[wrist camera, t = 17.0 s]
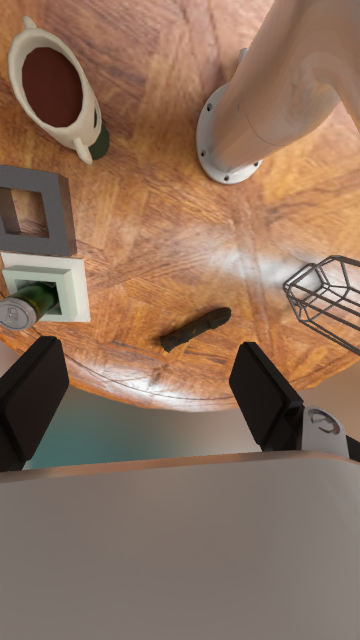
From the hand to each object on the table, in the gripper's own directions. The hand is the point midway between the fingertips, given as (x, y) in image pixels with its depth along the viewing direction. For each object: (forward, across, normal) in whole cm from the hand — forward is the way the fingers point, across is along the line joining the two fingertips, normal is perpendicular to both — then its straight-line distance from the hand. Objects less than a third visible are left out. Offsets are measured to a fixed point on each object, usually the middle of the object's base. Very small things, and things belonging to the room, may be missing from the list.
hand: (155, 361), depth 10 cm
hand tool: (+34, -11, +16) cm, 39 cm away
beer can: (+32, +21, +9) cm, 40 cm away
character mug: (+34, +11, -17) cm, 39 cm away
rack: (+33, +21, +9) cm, 40 cm away
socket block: (+33, +21, -5) cm, 40 cm away
